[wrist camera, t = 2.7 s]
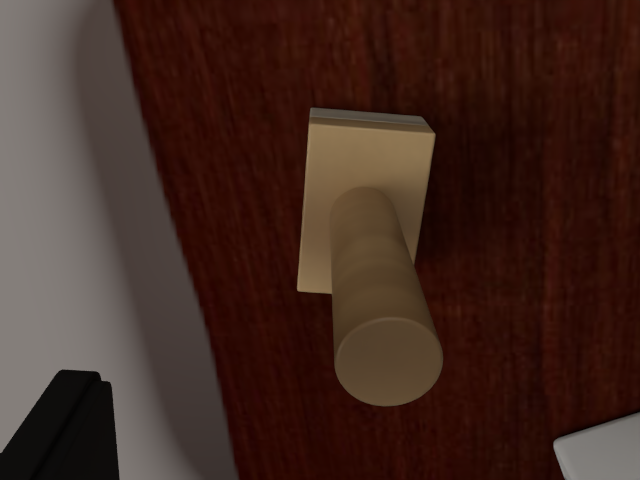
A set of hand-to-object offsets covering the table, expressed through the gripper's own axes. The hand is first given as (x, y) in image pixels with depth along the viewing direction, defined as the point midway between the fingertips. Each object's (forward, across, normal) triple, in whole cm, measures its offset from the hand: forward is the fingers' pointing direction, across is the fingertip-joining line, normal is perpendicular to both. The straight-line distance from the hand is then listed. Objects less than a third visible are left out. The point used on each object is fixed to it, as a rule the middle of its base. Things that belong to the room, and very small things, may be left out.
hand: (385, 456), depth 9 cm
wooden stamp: (+13, 0, 0) cm, 13 cm away
